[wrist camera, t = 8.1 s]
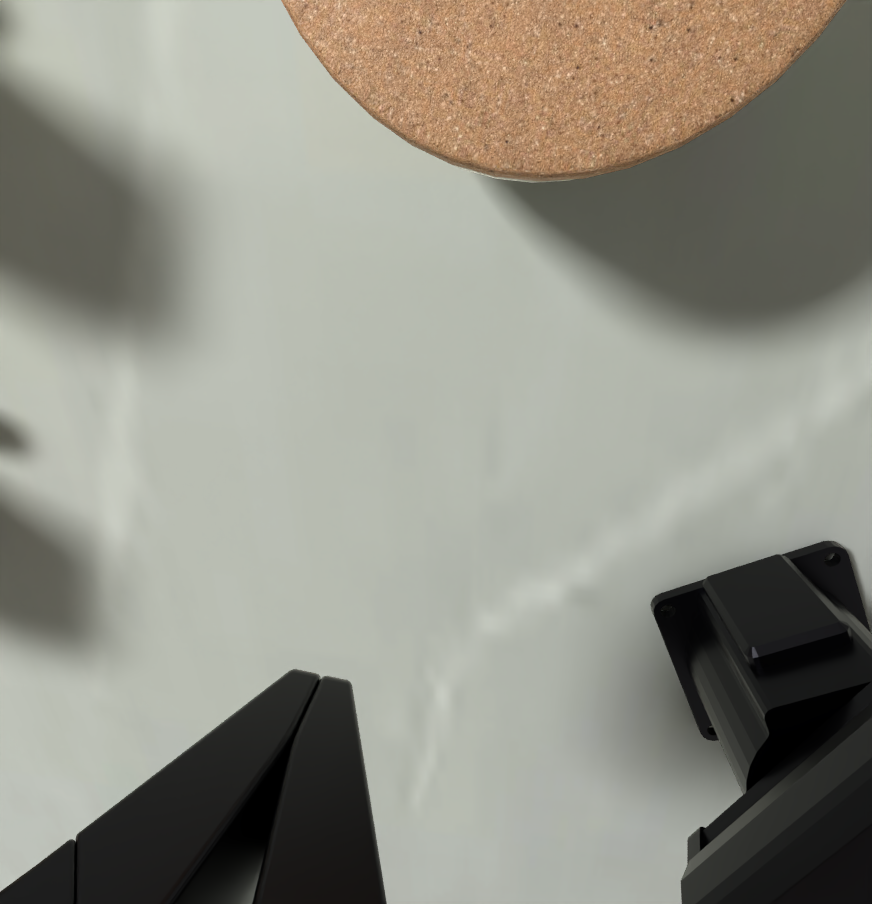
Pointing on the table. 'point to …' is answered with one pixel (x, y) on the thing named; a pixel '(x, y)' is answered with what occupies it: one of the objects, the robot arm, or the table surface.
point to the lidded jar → (556, 73)
